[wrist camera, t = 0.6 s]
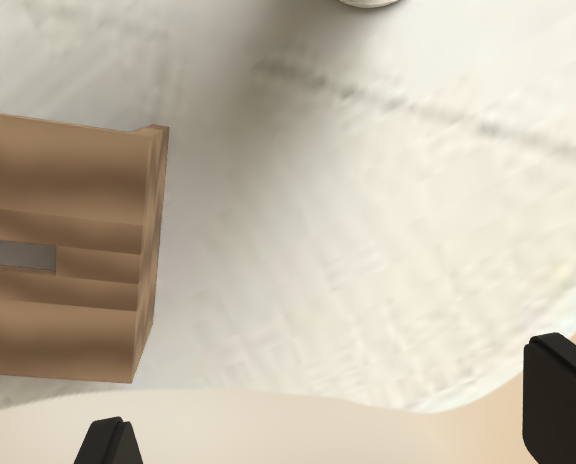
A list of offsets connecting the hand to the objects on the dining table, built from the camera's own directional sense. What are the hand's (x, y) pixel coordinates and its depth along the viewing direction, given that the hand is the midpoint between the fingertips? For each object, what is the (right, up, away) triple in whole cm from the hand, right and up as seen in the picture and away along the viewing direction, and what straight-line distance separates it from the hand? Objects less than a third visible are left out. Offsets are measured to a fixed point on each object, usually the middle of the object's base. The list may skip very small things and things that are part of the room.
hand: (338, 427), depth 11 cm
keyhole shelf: (-24, +6, +32) cm, 40 cm away
